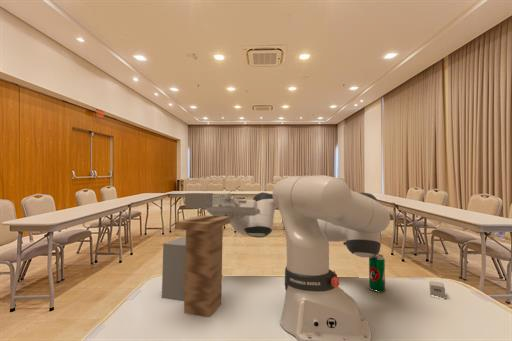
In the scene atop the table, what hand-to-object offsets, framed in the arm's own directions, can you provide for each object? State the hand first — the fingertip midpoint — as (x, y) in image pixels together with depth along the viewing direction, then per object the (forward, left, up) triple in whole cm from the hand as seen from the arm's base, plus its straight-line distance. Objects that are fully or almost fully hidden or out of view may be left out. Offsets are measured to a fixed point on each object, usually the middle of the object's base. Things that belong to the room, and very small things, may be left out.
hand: (225, 197), depth 94 cm
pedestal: (+12, +5, -32) cm, 34 cm away
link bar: (0, +9, -2) cm, 10 cm away
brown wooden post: (0, +16, -32) cm, 35 cm away
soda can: (-52, -14, -32) cm, 63 cm away
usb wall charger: (-71, -16, -32) cm, 80 cm away
